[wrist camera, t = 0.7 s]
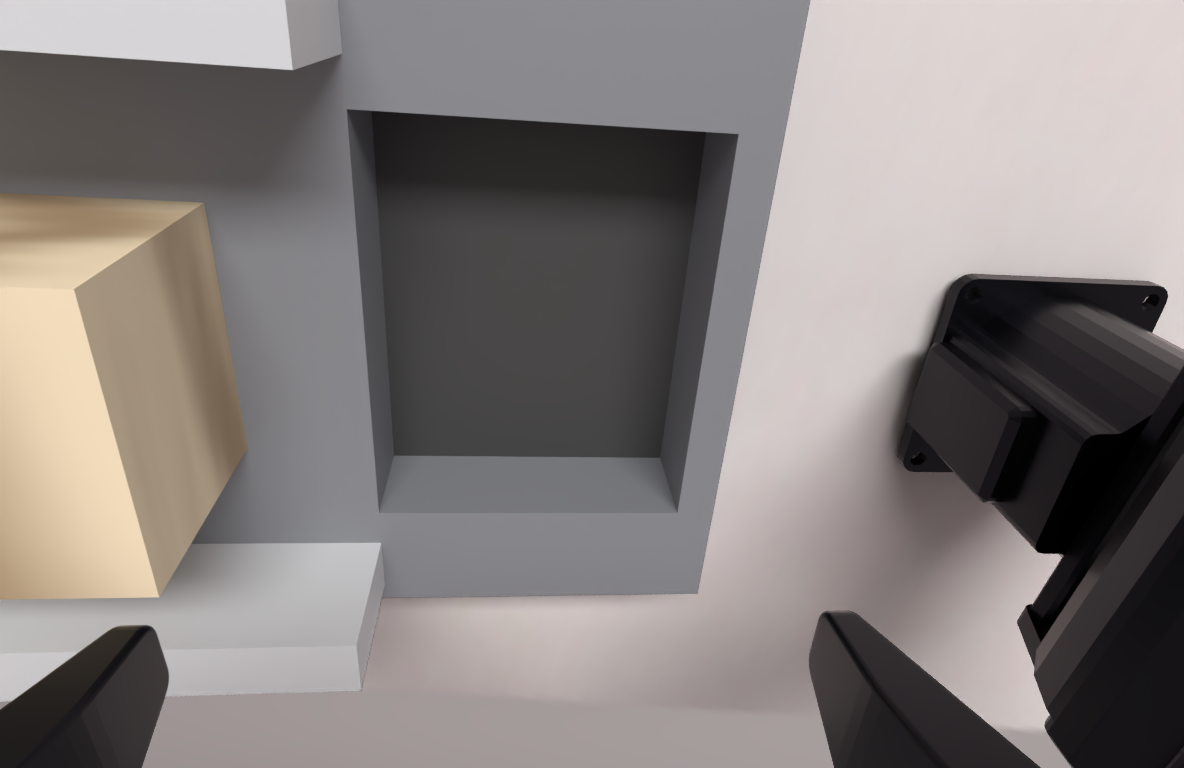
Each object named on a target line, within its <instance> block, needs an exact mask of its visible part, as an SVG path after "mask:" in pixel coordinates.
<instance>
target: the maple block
mask: <svg viewBox="0 0 1184 768" xmlns="http://www.w3.org/2000/svg"><path fill="white" fill-rule="evenodd" d="M247 448H248V447H247V442H246V436H245V430H244V425H243V419H242V414H241V408H240V402H239V397H238V391H237V385H236V380H235V374H234V368H233V363H232V357H231V352H230V346H229V340H228V335H227V329H226V323H225V318H224V312H223V306H222V301H221V295H220V289H219V284H218V278H217V273H216V267H215V261H214V256H213V250H212V244H211V239H210V233H209V227H208V222H207V216H206V211H205V205H204V203H201V202H180V201H159V200H138V199H117V198H96V197H75V196H54V195H33V194H12V193H0V600H6V599H79V598H152V597H160V595H161V594H162V592H163V590H164V589H165V587H166V585H167V583H168V582H169V580H170V578H171V577H172V575H173V573H174V572H175V570H176V568H177V567H178V565H179V563H180V561H181V560H182V558H183V556H184V555H185V553H186V551H187V550H188V548H189V546H190V545H191V543H192V541H193V539H194V538H195V536H196V534H197V533H198V531H199V529H200V528H201V526H202V524H203V523H204V521H205V519H206V517H207V516H208V514H209V512H210V511H211V509H212V507H213V506H214V504H215V502H216V500H217V499H218V497H219V495H220V494H221V492H222V490H223V489H224V487H225V485H226V484H227V482H228V480H229V478H230V477H231V475H232V473H233V472H234V470H235V468H236V467H237V465H238V463H239V462H240V460H241V458H242V456H243V455H244V453H245V451H246V450H247Z"/></svg>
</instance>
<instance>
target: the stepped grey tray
mask: <svg viewBox="0 0 1184 768" xmlns="http://www.w3.org/2000/svg"><path fill="white" fill-rule="evenodd" d="M809 5H810V0H0V193H12V194H33V195H54V196H75V197H96V198H117V199H138V200H159V201H180V202H201V203H204V205H205V211H206V216H207V222H208V227H209V233H210V239H211V244H212V250H213V256H214V261H215V267H216V273H217V278H218V284H219V289H220V295H221V301H222V306H223V312H224V318H225V323H226V329H227V335H228V340H229V346H230V352H231V357H232V363H233V368H234V374H235V380H236V385H237V391H238V397H239V402H240V408H241V414H242V419H243V425H244V430H245V436H246V442H247V447H248V448H247V450H246V451H245V453H244V455H243V456H242V458H241V460H240V462H239V463H238V465H237V467H236V468H235V470H234V472H233V473H232V475H231V477H230V478H229V480H228V482H227V484H226V485H225V487H224V489H223V490H222V492H221V494H220V495H219V497H218V499H217V500H216V502H215V504H214V506H213V507H212V509H211V511H210V512H209V514H208V516H207V517H206V519H205V521H204V523H203V524H202V526H201V528H200V529H199V531H198V533H197V534H196V536H195V538H194V539H193V541H192V543H191V545H190V546H189V548H188V550H187V551H186V553H185V555H184V556H183V558H182V560H181V561H180V563H179V565H178V567H177V568H176V570H175V572H174V573H173V575H172V577H171V578H170V580H169V582H168V583H167V585H166V587H165V589H164V590H163V592H162V594H161V595H160V597H152V598H79V599H6V600H0V701H13V700H14V699H15V698H17V697H18V696H19V695H21V694H22V693H23V692H25V691H26V690H28V689H29V688H30V687H32V686H33V685H34V684H36V683H37V682H39V681H40V680H41V679H43V678H44V677H45V676H47V675H48V674H49V673H51V672H52V671H54V670H55V669H56V668H58V667H59V666H60V665H62V664H63V663H64V662H66V661H67V660H69V659H70V658H71V657H73V656H74V655H75V654H77V653H78V652H79V651H81V650H82V649H84V648H85V647H86V646H88V645H89V644H90V643H92V642H93V641H95V640H96V639H97V638H99V637H100V636H101V635H103V634H104V633H105V632H107V631H108V630H110V629H112V628H114V627H116V626H121V625H148V626H151V627H153V628H154V629H155V631H156V633H157V636H158V639H159V642H160V645H161V648H162V651H163V654H164V657H165V660H166V664H167V667H168V671H169V684H168V689H167V693H166V696H165V697H169V696H170V697H171V696H203V695H238V694H239V695H240V694H274V693H304V692H305V693H308V692H341V691H342V692H343V691H361V690H362V686H363V681H364V677H365V672H366V668H367V663H368V659H369V654H370V649H371V645H372V640H373V636H374V631H375V627H376V622H377V618H378V613H379V609H380V604H381V599H382V598H429V597H499V596H569V595H639V594H698V588H699V583H700V578H701V573H702V567H703V562H704V557H705V551H706V546H707V541H708V536H709V530H710V525H711V520H712V515H713V509H714V504H715V499H716V494H717V488H718V483H719V478H720V473H721V467H722V462H723V457H724V452H725V446H726V441H727V436H728V431H729V425H730V420H731V415H732V410H733V404H734V399H735V394H736V388H737V383H738V378H739V373H740V367H741V362H742V357H743V352H744V346H745V341H746V336H747V331H748V325H749V320H750V315H751V310H752V304H753V299H754V294H755V289H756V283H757V278H758V273H759V268H760V262H761V257H762V252H763V247H764V241H765V236H766V231H767V225H768V220H769V215H770V210H771V204H772V199H773V194H774V189H775V183H776V178H777V173H778V168H779V162H780V157H781V152H782V147H783V141H784V136H785V131H786V126H787V120H788V115H789V110H790V105H791V99H792V94H793V89H794V83H795V78H796V73H797V68H798V62H799V57H800V52H801V47H802V41H803V36H804V31H805V26H806V20H807V15H808V10H809Z"/></svg>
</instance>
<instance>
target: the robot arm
mask: <svg viewBox="0 0 1184 768" xmlns="http://www.w3.org/2000/svg"><path fill="white" fill-rule="evenodd" d="M974 287H975V292H974V293H973V295H972V296H970V297H969V298H966V294H967V292H968V291H969V290H970V289H972V288H974ZM1146 297H1148V298H1147V300H1146V301H1145V302H1144V303H1143V301H1144V299H1145V298H1146ZM965 298H966V299H965ZM1167 298H1168V294H1167V291H1166V289H1165V288H1164V287H1162V286H1159V285H1157V284H1155V283H1152V282H1149V281H1132V280H1108V279H1084V278H1060V277H1036V276H1011V275H987V274H968V275H964V276H962V277H960V278H959V279H958V280H957V281H956V282H955V283H954V284H953V285H952V287H951V289H950V292H949V295H948V298H947V301H946V304H945V307H944V310H943V314H942V317H941V320H940V323H939V326H938V329H937V332H936V335H935V338H934V341H933V344H932V347H931V348H930V349H929V351H928V354H927V357H926V360H925V363H924V366H923V369H922V372H921V375H920V378H919V382H918V385H917V388H916V391H915V394H914V397H913V400H912V403H911V406H910V409H909V413H908V416H907V421H908V422H907V425H906V428H905V431H904V434H903V437H902V440H901V443H900V446H899V449H898V454H897V457H898V459H899V461H900V463H901V464H902V465H903V466H904V467H905V468H906V469H907V470H908V471H913V472H954V473H955V474H956V475H957V476H958V477H959V478H960V479H961V480H962V481H963V482H964V484H965V485H966V486H967V487H968V488H969V489H970V490H971V491H972V492H973V493H974V494H975V495H976V497H977V498H978V499H979V500H981V501H982V502H991V503H992V504H993V505H994V506H995V507H996V509H997V510H998V511H999V512H1000V513H1001V514H1002V515H1003V516H1004V517H1005V518H1006V519H1007V520H1008V521H1009V522H1010V523H1011V524H1012V526H1013V527H1014V528H1015V529H1016V530H1017V531H1018V532H1019V533H1020V534H1021V535H1022V536H1023V537H1024V538H1025V539H1026V540H1027V541H1028V542H1029V544H1030V545H1031V546H1032V547H1033V548H1034V549H1035V550H1036V551H1037V552H1038V553H1042V554H1059V555H1060V556H1061V557H1062V559H1061V560H1060V562H1059V563H1058V565H1057V567H1056V568H1055V570H1054V571H1053V573H1052V575H1051V576H1050V578H1049V579H1048V581H1047V582H1046V584H1045V586H1044V587H1043V589H1042V590H1041V592H1040V594H1039V595H1038V597H1037V598H1036V600H1035V601H1034V603H1033V604H1030V605H1027V606H1026V608H1025V609H1024V611H1023V612H1022V614H1021V615H1020V617H1019V619H1018V620H1017V624H1018V626H1019V629H1020V631H1021V634H1022V636H1023V639H1024V642H1025V644H1026V647H1027V649H1028V652H1029V654H1030V657H1031V659H1032V662H1033V665H1034V667H1035V669H1034V676H1035V679H1036V682H1037V684H1038V687H1039V690H1040V692H1041V695H1042V698H1043V701H1044V703H1045V706H1046V709H1047V710H1048V712H1049V714H1050V715H1049V717H1048V718H1047V720H1046V721H1045V729H1046V731H1047V733H1048V735H1049V737H1050V738H1051V740H1052V741H1053V743H1054V744H1055V746H1056V747H1057V748H1058V749H1059V751H1060V752H1061V754H1062V755H1063V756H1064V758H1065V759H1066V760H1067V762H1068V763H1069V765H1070V766H1071V767H1072V768H1184V350H1183V349H1181V348H1179V347H1177V346H1176V345H1174V344H1172V343H1170V342H1168V341H1166V340H1164V339H1162V338H1160V337H1158V336H1157V335H1155V334H1153V333H1152V332H1153V330H1154V327H1155V325H1156V323H1157V321H1158V319H1159V317H1160V315H1161V313H1162V311H1163V309H1164V306H1165V304H1166V302H1167ZM918 452H920V453H919V454H918V455H917V456H916V457H914V458H912V456H913V455H914V454H916V453H918ZM809 669H810V674H811V678H812V682H813V686H814V690H815V694H816V698H817V702H818V706H819V710H820V714H821V718H822V722H823V726H824V729H825V733H826V737H827V741H828V745H829V749H830V753H831V757H832V761H833V765H834V768H1040V767H1039V766H1038V765H1037V764H1036V763H1034V762H1033V761H1032V760H1031V759H1030V758H1028V757H1027V756H1026V755H1025V754H1024V753H1022V752H1021V751H1020V750H1019V749H1018V748H1016V747H1015V746H1014V745H1013V744H1011V742H1009V741H1008V740H1007V739H1006V738H1005V737H1003V736H1002V735H1001V734H1000V733H999V732H997V731H996V730H995V729H994V728H993V727H991V726H990V725H989V724H988V723H987V722H985V721H984V720H983V719H982V718H981V717H979V716H978V715H977V714H976V713H975V712H973V711H972V710H971V709H970V708H969V707H968V706H966V705H965V704H964V703H963V702H962V701H960V700H959V699H958V698H957V697H956V696H954V695H953V694H952V693H951V692H950V691H948V690H947V689H946V688H945V687H944V686H942V685H941V684H940V683H939V682H938V681H936V680H935V679H934V678H933V677H932V676H931V675H929V674H928V673H927V672H926V671H925V670H923V669H922V668H921V667H920V666H919V665H917V664H916V663H915V662H914V661H913V660H911V659H910V658H909V657H908V656H907V655H905V654H904V653H903V652H902V651H901V650H899V649H898V648H897V647H896V646H895V645H894V644H892V643H891V642H890V641H889V640H888V639H886V638H885V637H884V636H883V635H882V634H880V633H879V632H878V631H877V630H876V629H874V628H873V627H872V626H871V625H870V624H868V623H867V622H866V621H865V620H864V619H862V618H861V617H860V616H859V615H857V614H856V613H854V612H852V611H826V612H823V613H822V614H821V615H820V617H819V620H818V623H817V627H816V631H815V634H814V638H813V642H812V646H811V649H810V654H809ZM168 684H169V671H168V667H167V664H166V660H165V657H164V654H163V651H162V648H161V645H160V642H159V639H158V636H157V633H156V631H155V629H154V628H153V627H151V626H148V625H121V626H116V627H114V628H112V629H110V630H108V631H107V632H105V633H104V634H103V635H101V636H100V637H99V638H97V639H96V640H95V641H93V642H92V643H90V644H89V645H88V646H86V647H85V648H84V649H82V650H81V651H79V652H78V653H77V654H75V655H74V656H73V657H71V658H70V659H69V660H67V661H66V662H64V663H63V664H62V665H60V666H59V667H58V668H56V669H55V670H54V671H52V672H51V673H49V674H48V675H47V676H45V677H44V678H43V679H41V680H40V681H39V682H37V683H36V684H34V685H33V686H32V687H30V688H29V689H28V690H26V691H25V692H23V693H22V694H21V695H19V696H18V697H17V698H15V699H14V700H13V701H11V702H10V703H9V704H7V705H6V706H4V707H3V708H2V709H0V768H142V765H143V762H144V759H145V756H146V753H147V750H148V747H149V744H150V741H151V738H152V735H153V732H154V729H155V726H156V723H157V720H158V717H159V714H160V711H161V708H162V705H163V702H164V699H165V696H166V693H167V689H168Z"/></svg>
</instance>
